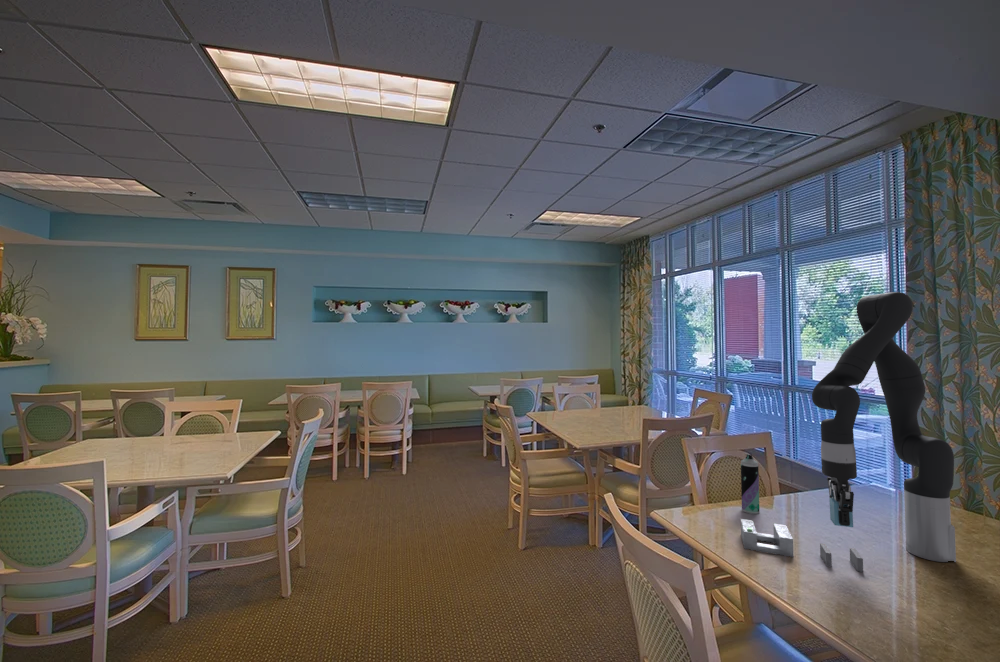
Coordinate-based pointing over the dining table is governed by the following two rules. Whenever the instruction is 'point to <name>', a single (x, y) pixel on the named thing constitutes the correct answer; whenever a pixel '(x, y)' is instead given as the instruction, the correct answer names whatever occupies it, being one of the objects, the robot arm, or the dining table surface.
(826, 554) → the gray parallel plates
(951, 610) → the dining table surface
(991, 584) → the dining table surface
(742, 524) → the block
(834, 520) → the plug
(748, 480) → the spray can
